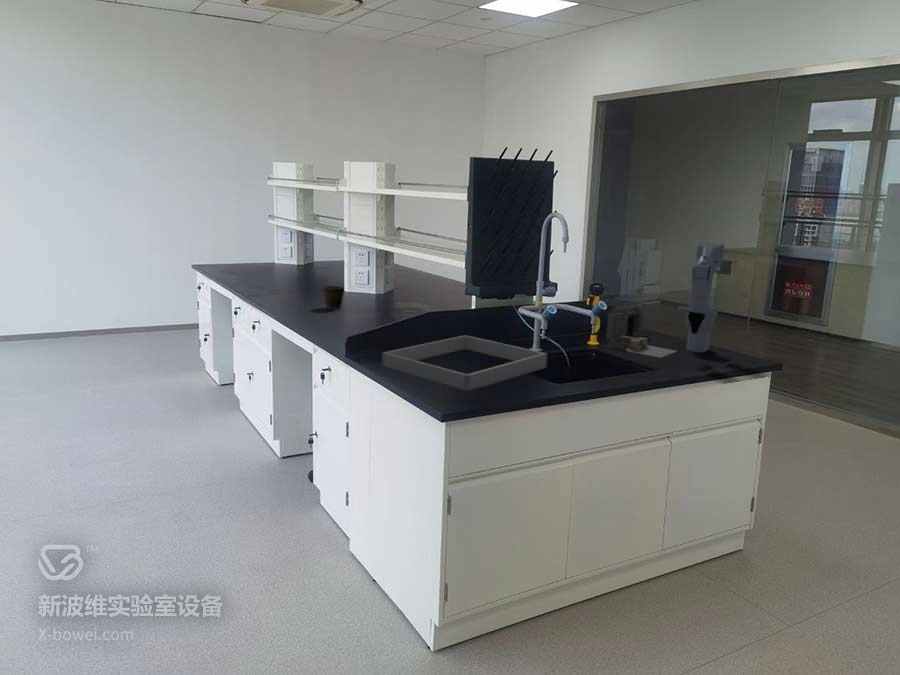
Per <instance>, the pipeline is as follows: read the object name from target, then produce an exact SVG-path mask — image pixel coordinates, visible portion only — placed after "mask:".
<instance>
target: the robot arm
mask: <svg viewBox="0 0 900 675" xmlns="http://www.w3.org/2000/svg"><path fill="white" fill-rule="evenodd" d="M724 255H725V245H724V243H710V242H709V243H708V242H707V243H706V242H701V241H700V242H698V243H697V247H696V263H695V265H693V266H692V270H691V290H690V299H689V306H682V305H678V306H676V307H677V309H676V312H679V313H686V317H685V327H686V328H687V330H688V332H687V333H688V334H687V343H686V350H687V351H690V352H692V353H693V352H694V353H705V352H707V351H709V350H710V342H711V334H710V331H712V330H713V325H714V322H715V321H714V318H717V317H718V314H719V312H718V311H717V310H716V311H715V310H713V309H712V308H711V307H710V306H709V302H710V298H711V291H712V285H713V279H714V275H715V272H716V271H717V269H718V268H719V269H720V267H722V264H723V259H724Z"/></svg>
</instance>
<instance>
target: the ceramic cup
mask: <svg viewBox="0 0 900 675" xmlns="http://www.w3.org/2000/svg"><path fill="white" fill-rule="evenodd" d="M322 289H323V290H322V291H323V295H324V299H325V300H324V301H325V306H326V309H328V310H340V309H341V308H342V302H343V296H344V291H345V286H344V287H343V286H340V285H339V286H336V285H330V286H323V288H322Z"/></svg>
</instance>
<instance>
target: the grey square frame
mask: <svg viewBox="0 0 900 675" xmlns="http://www.w3.org/2000/svg"><path fill="white" fill-rule="evenodd" d="M461 350H462V351H463V350H468V351H472V352H476V353H479V354H484V355H488V356H492V357H498V358H500V359H501V358H502V359H506V360H510V361H511V362H506V363H503V364H499V365H496V366H492V367H489V368H484V369H482V370H478V371H473V372H471V373H470V372H469V373H463V372H459V371H457V370H452V369H449V368H445V367H441V366H438V365H434V364H431V363H427V362H423V361H420V360H423V359H428V358H432V357H437V356H441V355H446V354H449V353H453V352H458V351H461ZM382 366H385V367H389V368H392V369H395V370H398V371H401V372H405V373H409V374H412V375H415V376H419V377H422V378H426V379H429V380H433V381H436V382H439V383H443V384H446V385H450V386H453V387H456V388H459V389H463V390H466V391H467V392H469V391H468V390H471V391H473V390H472V389H474V390H476V389H475V388H477V389H480V388H479V387H481V388H484V387H487V386H489V385H493V384H496V383H500V382H503V381H506V380H510V379H512V378H516V377H519V376H520V377H521V376H524V375H527V374H529V373H533V372H536V371H539V370H543V369H546V368H547V366H548V353H546V352H542V351H537V350H534V349H529V348H524V347H520V346H516V345H511V344H507V343H506V344H505V343H502V342H497V341H493V340H489V339H484V338H479V337H476V336H471V335H467V334H466V335H465V334H464V335H460V336H455V337H451V338H446V339H442V340H441V339H440V340H436V341H435V340H434V341H432V342H430V341H429V342H425V343H421V344H418V345H417V344H416V345H412V346H409V347H408V346H407V347H403V348H397V349H394V350H393V349H392V350H389V351H383V352H381V367H382ZM401 372H400V373H401ZM415 376H414V377H415ZM439 383H438V384H439ZM483 386H484V387H483ZM456 388H455V389H456ZM459 389H458V390H459ZM463 390H462V391H463ZM466 391H465V392H466Z"/></svg>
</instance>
